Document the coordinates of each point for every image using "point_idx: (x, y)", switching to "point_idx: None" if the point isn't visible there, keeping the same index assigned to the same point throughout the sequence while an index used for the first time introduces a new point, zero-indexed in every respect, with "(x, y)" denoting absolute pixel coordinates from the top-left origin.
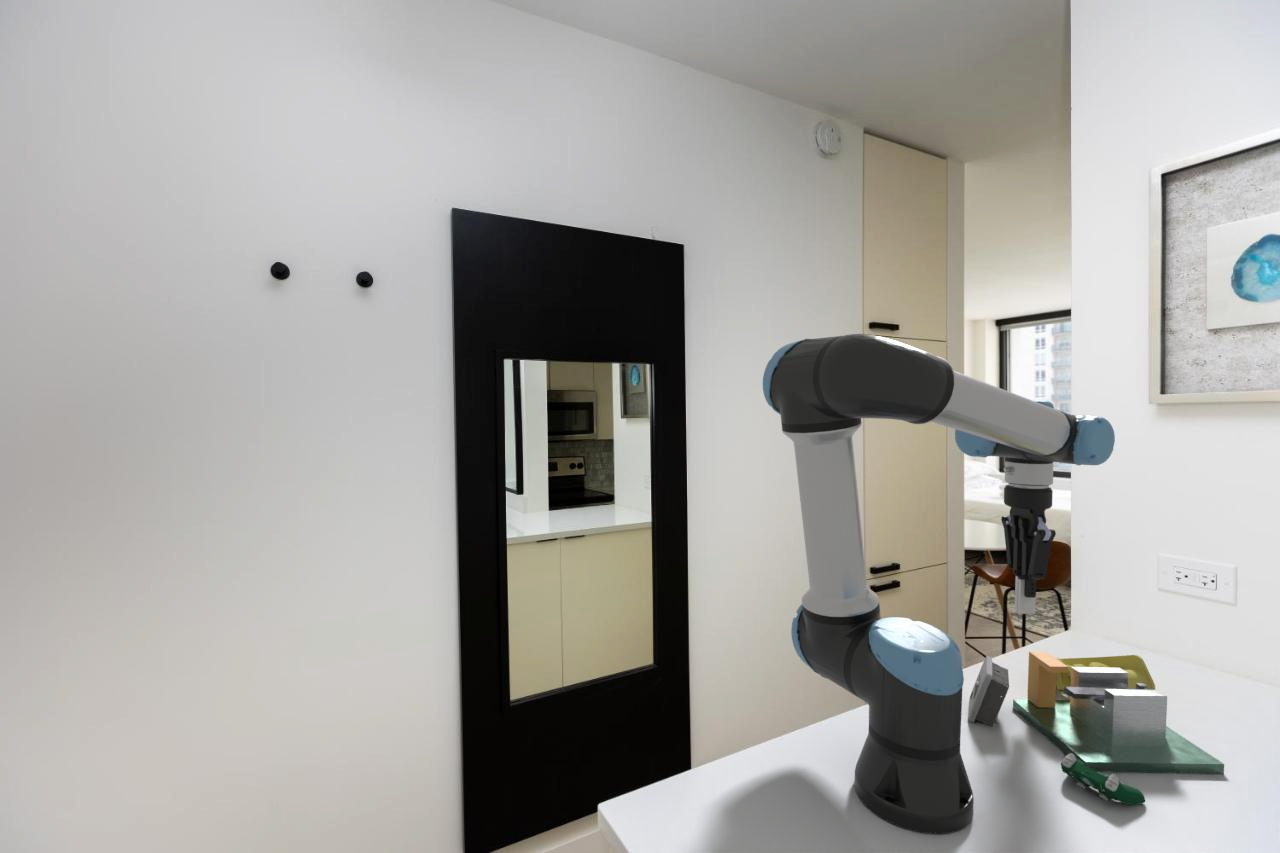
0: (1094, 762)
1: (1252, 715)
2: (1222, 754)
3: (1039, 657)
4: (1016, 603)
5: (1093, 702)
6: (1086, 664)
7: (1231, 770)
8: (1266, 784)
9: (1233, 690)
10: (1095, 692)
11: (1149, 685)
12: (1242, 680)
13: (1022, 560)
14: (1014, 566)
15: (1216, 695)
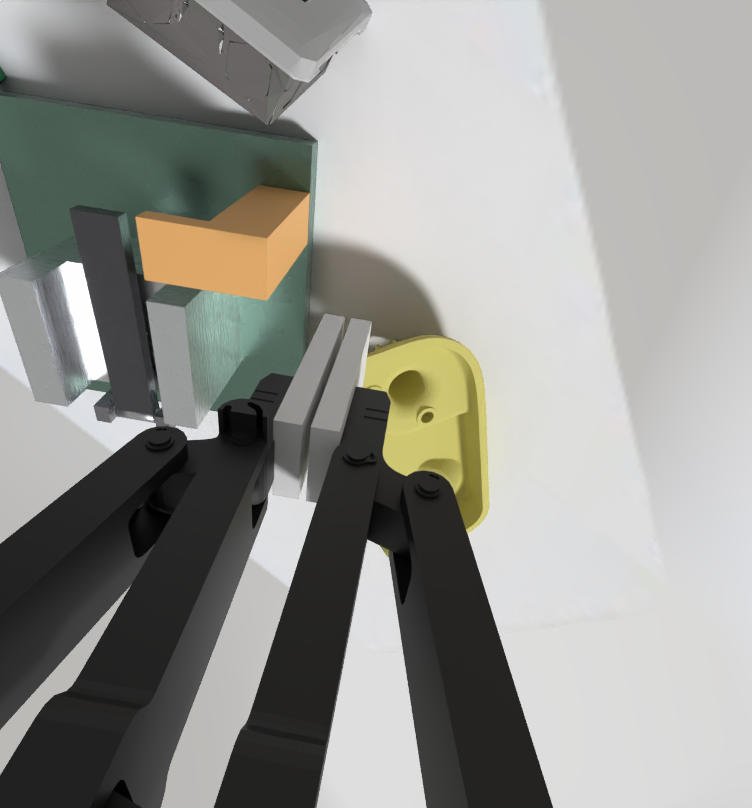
0: None
1: (280, 563)
2: (144, 426)
3: (213, 238)
4: (351, 338)
5: None
6: (474, 481)
7: (92, 396)
8: (59, 408)
9: (362, 607)
10: (98, 282)
11: None
12: (393, 640)
13: (220, 526)
14: (356, 485)
15: None
